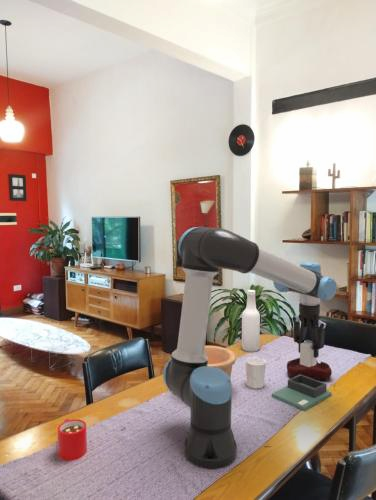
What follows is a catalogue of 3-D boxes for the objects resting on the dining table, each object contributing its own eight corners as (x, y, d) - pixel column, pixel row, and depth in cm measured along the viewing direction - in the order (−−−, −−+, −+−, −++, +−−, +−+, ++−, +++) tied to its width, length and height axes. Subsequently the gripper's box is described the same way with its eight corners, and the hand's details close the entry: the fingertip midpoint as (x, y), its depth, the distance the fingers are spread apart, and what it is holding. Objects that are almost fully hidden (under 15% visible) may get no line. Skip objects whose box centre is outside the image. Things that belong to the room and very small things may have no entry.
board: (304, 411, 137) (304, 399, 137) (271, 396, 148) (272, 385, 147) (331, 395, 149) (331, 384, 148) (299, 383, 159) (299, 373, 159)
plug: (309, 367, 147) (309, 345, 146) (299, 364, 150) (300, 342, 149) (316, 363, 150) (316, 342, 149) (307, 360, 153) (307, 339, 152)
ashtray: (325, 367, 175) (325, 357, 175) (333, 383, 159) (333, 371, 159) (284, 365, 178) (284, 354, 177) (288, 380, 162) (288, 369, 161)
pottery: (172, 400, 145) (172, 363, 143) (186, 376, 166) (186, 343, 164) (231, 407, 139) (231, 368, 138) (238, 381, 161) (238, 347, 159)
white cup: (264, 381, 161) (264, 357, 160) (266, 390, 153) (266, 365, 152) (244, 380, 162) (245, 356, 161) (245, 389, 154) (246, 364, 153)
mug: (76, 434, 123) (76, 410, 122) (90, 454, 113) (90, 428, 112) (51, 443, 118) (50, 418, 118) (63, 464, 108) (62, 437, 108)
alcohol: (249, 345, 204) (250, 288, 201) (262, 349, 198) (264, 290, 195) (238, 348, 199) (238, 290, 196) (251, 353, 192) (252, 293, 189)
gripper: (335, 305, 144) (334, 367, 146) (295, 297, 156) (294, 354, 159) (324, 309, 139) (323, 372, 141) (284, 300, 152) (283, 359, 154)
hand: (308, 363), depth 150 cm, fingers closed on plug, 4 cm apart
